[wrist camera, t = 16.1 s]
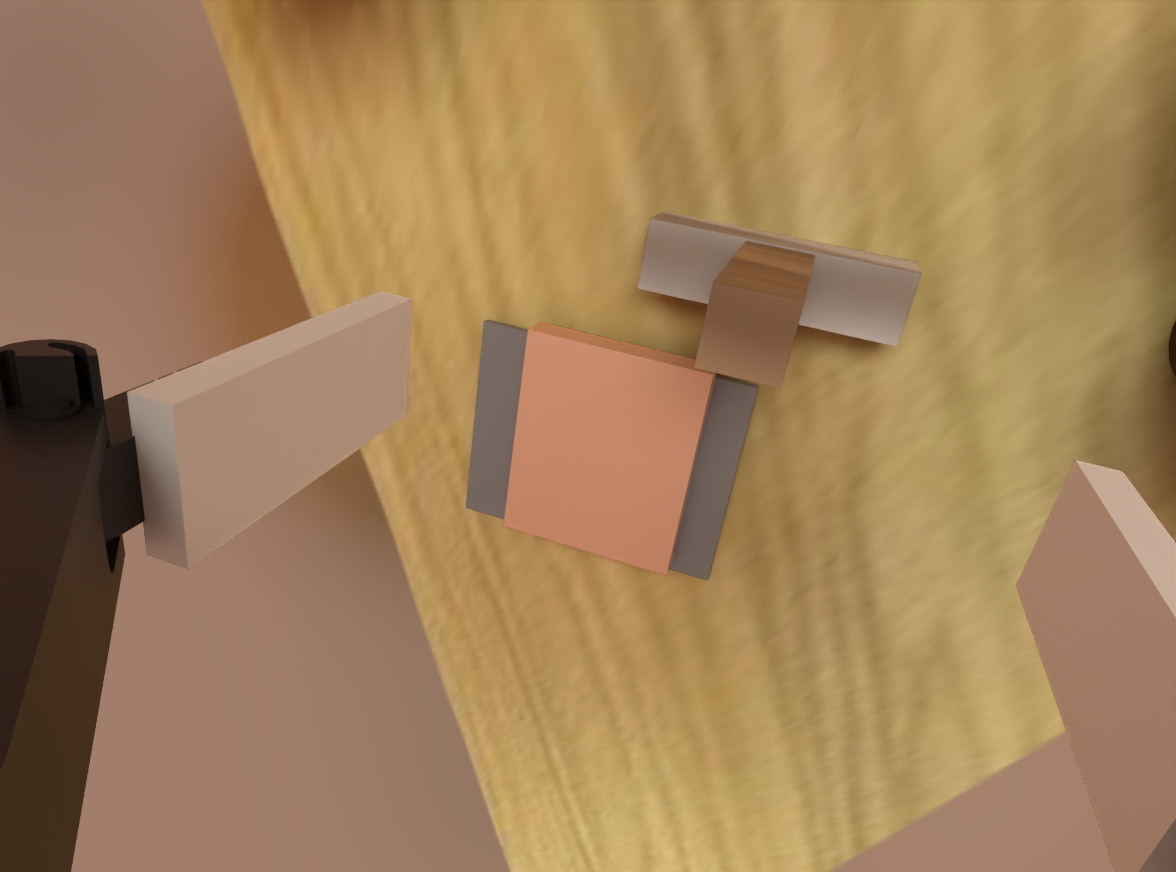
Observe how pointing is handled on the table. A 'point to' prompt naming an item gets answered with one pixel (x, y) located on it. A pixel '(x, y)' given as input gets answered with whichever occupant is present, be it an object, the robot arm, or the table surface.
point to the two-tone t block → (772, 291)
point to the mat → (711, 466)
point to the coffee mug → (1173, 348)
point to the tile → (605, 445)
